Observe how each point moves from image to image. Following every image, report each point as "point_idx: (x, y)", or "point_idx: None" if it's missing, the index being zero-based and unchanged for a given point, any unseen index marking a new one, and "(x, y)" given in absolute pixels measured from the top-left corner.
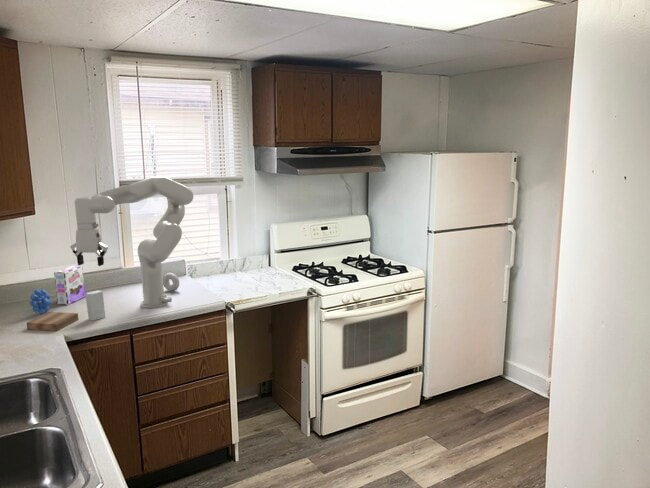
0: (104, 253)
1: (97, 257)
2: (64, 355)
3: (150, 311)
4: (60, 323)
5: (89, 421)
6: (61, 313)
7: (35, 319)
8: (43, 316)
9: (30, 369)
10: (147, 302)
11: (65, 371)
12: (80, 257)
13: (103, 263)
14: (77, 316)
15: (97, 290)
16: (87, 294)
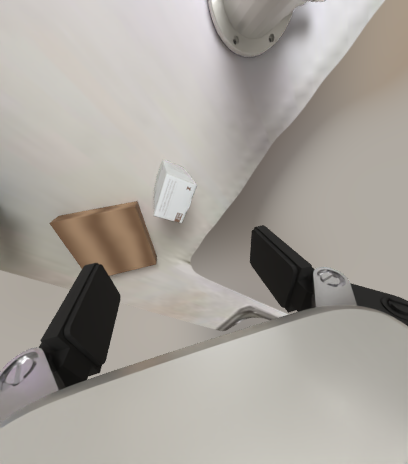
0: (364, 298)
1: (287, 310)
2: (234, 292)
3: (266, 87)
4: (153, 253)
5: None
6: (96, 220)
7: (85, 264)
8: (78, 248)
9: (224, 317)
10: (252, 33)
11: (257, 306)
12: (96, 341)
13: (265, 229)
14: (137, 206)
15: (167, 177)
16: (168, 219)
